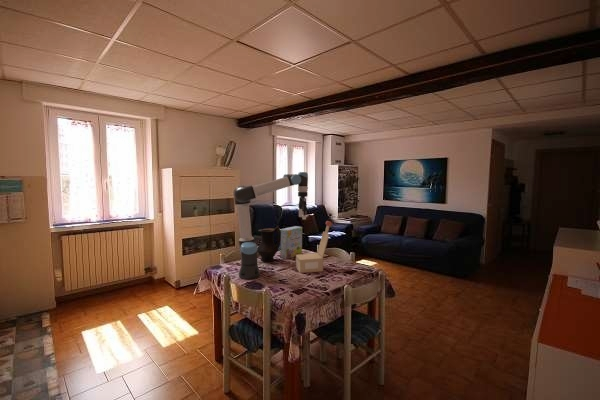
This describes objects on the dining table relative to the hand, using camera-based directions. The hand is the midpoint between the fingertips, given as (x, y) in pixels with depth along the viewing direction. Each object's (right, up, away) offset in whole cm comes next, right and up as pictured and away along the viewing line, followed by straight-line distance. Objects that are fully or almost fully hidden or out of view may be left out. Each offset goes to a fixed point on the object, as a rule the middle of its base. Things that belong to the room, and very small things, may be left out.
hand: (302, 218), depth 228 cm
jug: (-29, -37, +14) cm, 49 cm away
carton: (+5, -39, -7) cm, 40 cm away
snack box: (-9, -36, +29) cm, 47 cm away
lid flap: (+16, -15, -6) cm, 23 cm away
